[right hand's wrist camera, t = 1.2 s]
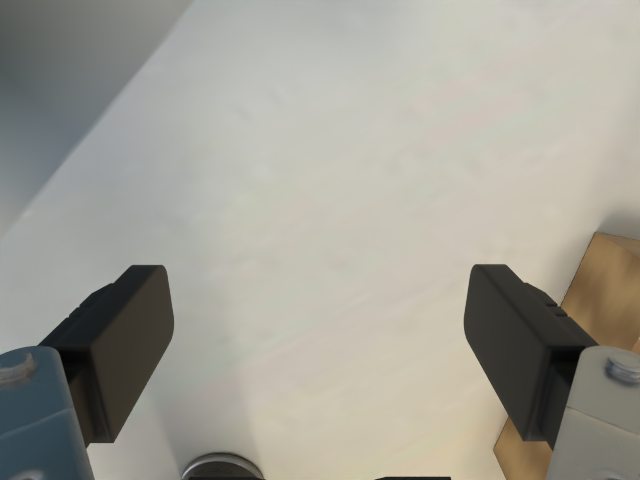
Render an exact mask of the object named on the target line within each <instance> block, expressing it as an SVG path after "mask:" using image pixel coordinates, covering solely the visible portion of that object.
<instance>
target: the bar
mask: <svg viewBox="0 0 640 480" xmlns="http://www.w3.org/2000/svg"><path fill="white" fill-rule="evenodd" d="M561 308H562V309H563V310H564V311H565V312H566V313H567V314H568V317H571V318H572V319H573V320H574V321H575V322H576V323H577V324H578V325H579V326H580V327H581V328H582V329H584V330H585V331H586V332H587V333H588V334H589V335H590V336H591V337H592V338H593V339H594V340H595V341H596V342H597V343H598V344H599V345H600V346H610V347H616V348H621V349H624V350H628V351H631V352H634V353H636V354H639V355H640V240H634V239H629V238H624V237H618V236H613V235H608V234H602V233H597V232H596V233H595V234H594V237H593V239H592V241H591V243H590V245H589V247H588V249H587V252H586V254H585V256H584V258H583V260H582V262H581V264H580V266H579V269H578V271H577V273H576V275H575V277H574V279H573V281H572V284H571V286H570V288H569V290H568V292H567V294H566V296H565V298H564V301H563V303H562V305H561ZM493 451H494V454H495V456H496V458H497V460H498V462H499V465H500V467H501V469H502V471H503V473H504V475H505V478H506V480H545V479H546V475H547V472H548V468H549V465H550V461H551V458H552V454H553V451H552V450H551V448H550V447H549V445H548V443H547V442H546V441H523V440H522V439H521V437H520V435H519V433H518V431H517V430H516V428H515V426H514V424H513V422H512V420H511V419H510V417H509V418H508V420H507V422H506V424H505V427H504V429H503V431H502V433H501V435H500V437H499V439H498V441H497V444H496V446H495V448H494V450H493Z"/></svg>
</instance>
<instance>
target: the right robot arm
mask: <svg viewBox="0 0 640 480" xmlns="http://www.w3.org/2000/svg"><path fill="white" fill-rule="evenodd" d="M173 330H174V315H173V309H172V302H171V296H170V289H169V282H168V276H167V272H166V269H165V267H164V266H163V265H132V266H130V267H129V268H128V269H127V270H126V271H125V272H124V273H123V274H122V275H121V276H120V277H119V278H118V279H117V280H116V281H115V282H114V283H110V284H108V285H107V286H105V287H103V288H101V289H99V290H97V291H95V292H93V293H92V294H91V295H90V296H89V297H88V298H86V299H85V300H84V301H83V302H82V303H81V304H80V307H79V308H76V309H75V310H74V311H73V312H72V313H71V314H70V315H69V318H66V319H65V320H63V321H62V322H61V323H60V324H59V325H58V326H57V327H56V328H55V329H54V330H53V331H52V332H51V333H50V334H49V335H48V336H47V337H46V338H45V339H44V340H43V341H42V342H41V343H39V344H38V345H37V346H30V347H24V348H19V349H16V350H12V351H9V352H6V353H4V354H1V355H0V480H95V479H94V475H93V472H92V468H91V465H90V461H89V458H88V454H87V451H86V449H87V447H88V445H89V444H90V443H114V441H115V439H116V438H117V436H118V434H119V432H120V431H121V429H122V427H123V425H124V423H125V422H126V420H127V418H128V416H129V415H130V413H131V411H132V409H133V407H134V406H135V404H136V402H137V400H138V398H139V397H140V395H141V393H142V391H143V390H144V388H145V386H146V384H147V382H148V381H149V379H150V377H151V375H152V374H153V372H154V370H155V368H156V366H157V365H158V363H159V361H160V359H161V357H162V356H163V354H164V352H165V350H166V349H167V347H168V345H169V343H170V341H171V339H172V335H173ZM464 331H465V335H466V339H467V341H468V343H469V345H470V347H471V348H472V350H473V352H474V354H475V356H476V357H477V359H478V361H479V363H480V365H481V366H482V368H483V370H484V372H485V374H486V375H487V377H488V379H489V381H490V383H491V384H492V386H493V388H494V390H495V392H496V393H497V395H498V397H499V399H500V401H501V402H502V404H503V406H504V408H505V410H506V411H507V413H508V415H509V417H510V419H511V420H512V422H513V424H514V426H515V428H516V430H517V431H518V433H519V435H520V437H521V439H522V440H523V441H546V442H547V443H548V445H549V447H550V448H551V450H552V451H553V454H552V458H551V461H550V465H549V468H548V472H547V475H546V479H545V480H640V355H639V354H636V353H634V352H631V351H628V350H624V349H621V348H616V347H610V346H600V345H599V344H598V343H597V342H596V341H595V340H594V339H593V338H592V337H591V336H590V335H589V334H588V333H587V332H586V331H585V330H584V329H582V328H581V327H580V326H579V325H578V324H577V323H576V322H575V321H574V320H573V319H572V318H571V317H568V314H567V313H566V312H565V311H564V310H563V309H562V308H561V307H558V306H557V303H556V302H555V301H554V300H552V299H551V298H550V297H549V296H548V295H547V294H546V293H545V292H543V291H541V290H540V289H538V288H536V287H534V286H532V285H530V284H528V283H524V282H523V281H522V280H521V279H520V278H519V277H518V276H517V275H516V274H515V273H514V272H513V271H512V270H511V269H510V268H509V267H508V266H507V265H505V264H476V265H474V266H473V268H472V270H471V274H470V280H469V286H468V293H467V300H466V307H465V313H464ZM181 480H264V479H263V477H262V475H261V473H260V472H259V470H258V469H257V468H256V467H255V466H254V465H253V464H251V463H250V462H248V461H246V460H244V459H242V458H240V457H237V456H233V455H228V454H211V455H206V456H203V457H200V458H198V459H196V460H194V461H193V462H191V463H190V464H189V465H188V466H187V467H186V469H185V470H184V472H183V475H182V478H181ZM376 480H451V477H383V478H380V479H376Z"/></svg>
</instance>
